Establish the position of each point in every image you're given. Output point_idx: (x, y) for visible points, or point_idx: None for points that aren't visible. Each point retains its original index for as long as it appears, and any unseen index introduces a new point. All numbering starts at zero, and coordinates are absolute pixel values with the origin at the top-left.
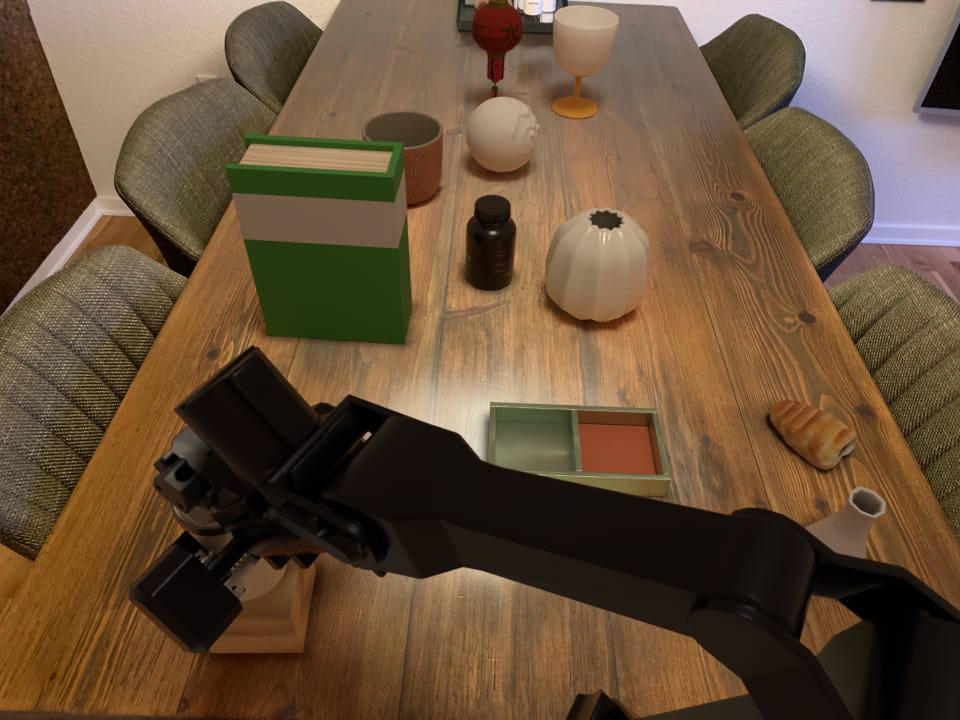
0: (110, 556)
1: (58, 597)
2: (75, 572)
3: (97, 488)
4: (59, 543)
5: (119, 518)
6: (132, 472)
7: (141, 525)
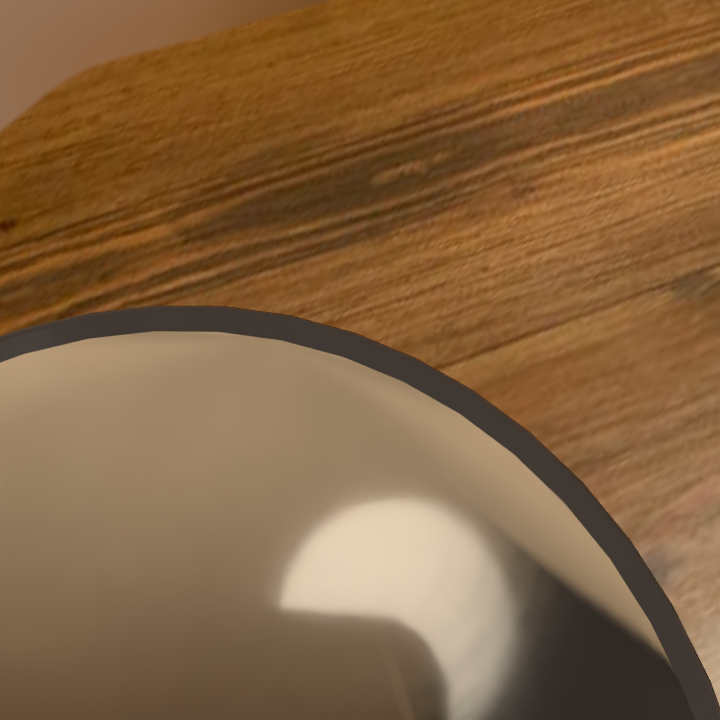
0: (279, 143)
1: (157, 114)
2: (218, 105)
3: (407, 7)
4: (261, 31)
5: (366, 97)
6: (477, 43)
7: (373, 151)
